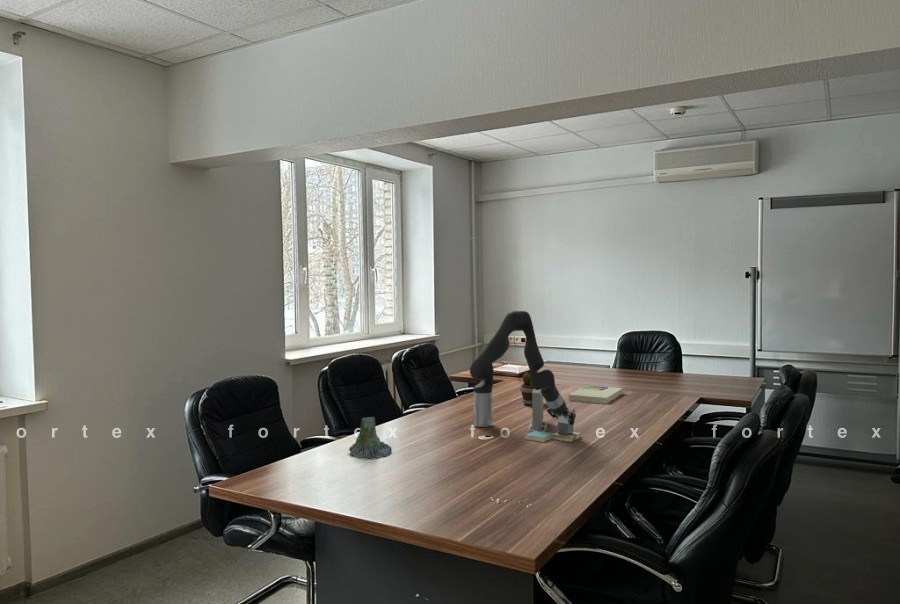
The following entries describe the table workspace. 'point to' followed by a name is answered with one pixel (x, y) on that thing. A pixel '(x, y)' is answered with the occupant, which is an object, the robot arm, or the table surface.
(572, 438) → the stand
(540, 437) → the stand
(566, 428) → the grey rectangular block
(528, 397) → the flowerpot
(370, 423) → the tree stump
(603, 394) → the puzzle box
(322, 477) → the table surface
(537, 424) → the network device
